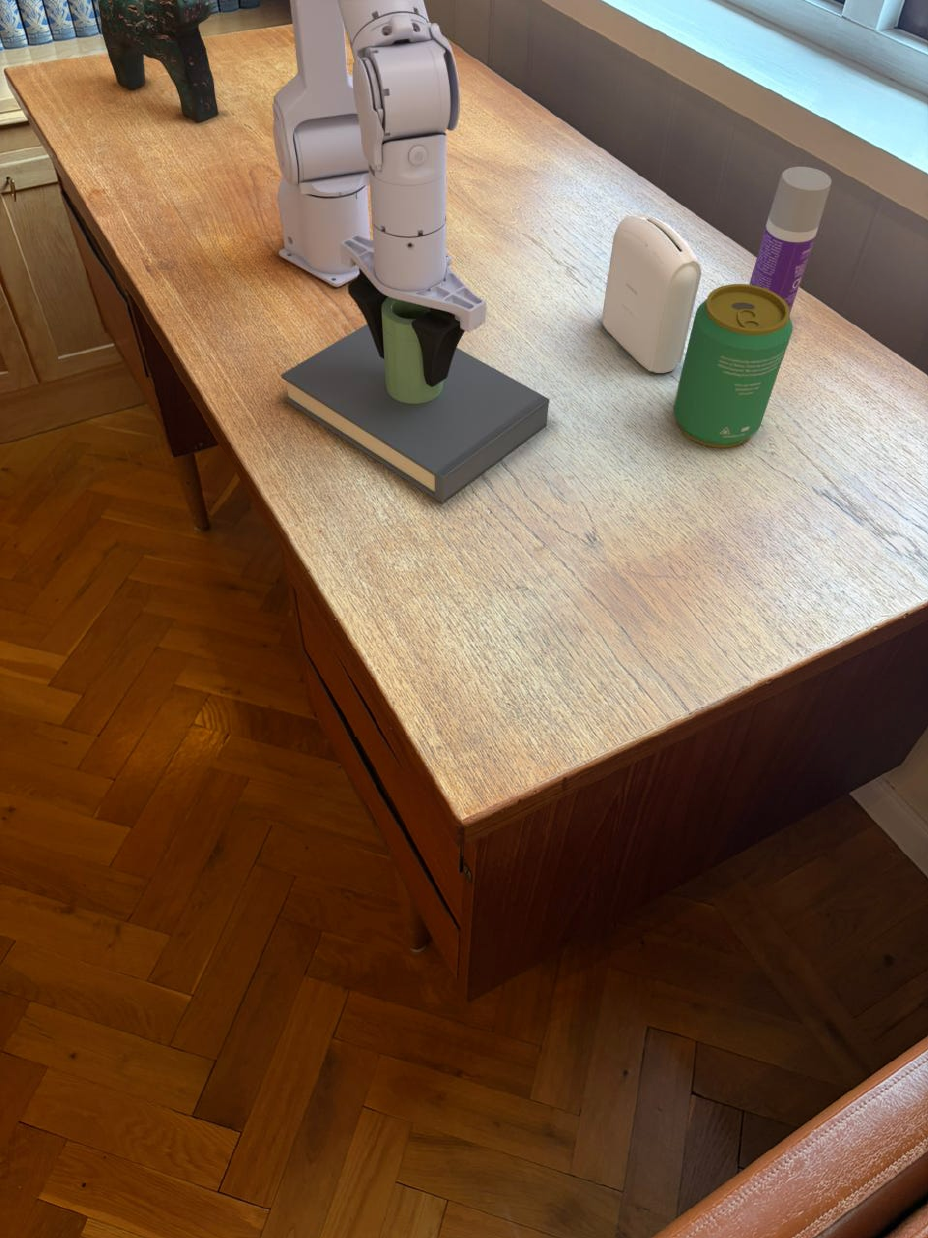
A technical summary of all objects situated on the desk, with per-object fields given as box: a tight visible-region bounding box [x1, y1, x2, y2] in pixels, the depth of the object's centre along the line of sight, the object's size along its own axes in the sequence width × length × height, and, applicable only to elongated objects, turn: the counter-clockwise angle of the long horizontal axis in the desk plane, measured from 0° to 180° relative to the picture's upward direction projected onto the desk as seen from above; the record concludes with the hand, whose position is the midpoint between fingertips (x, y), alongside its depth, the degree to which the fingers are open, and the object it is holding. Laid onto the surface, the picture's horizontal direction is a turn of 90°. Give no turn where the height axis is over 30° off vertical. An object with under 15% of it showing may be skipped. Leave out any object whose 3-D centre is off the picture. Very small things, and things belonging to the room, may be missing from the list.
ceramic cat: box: [97, 0, 219, 123], centre depth 118 cm, size 20×6×20 cm, turn 49°
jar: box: [382, 297, 443, 404], centre depth 81 cm, size 5×5×8 cm
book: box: [280, 323, 551, 505], centre depth 85 cm, size 20×14×3 cm
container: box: [748, 166, 832, 313], centre depth 90 cm, size 5×5×15 cm
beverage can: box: [672, 283, 794, 449], centre depth 82 cm, size 8×8×12 cm
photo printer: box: [601, 212, 702, 374], centre depth 89 cm, size 10×4×12 cm, turn 26°
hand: (413, 366), depth 82 cm, fingers closed on jar, 5 cm apart
